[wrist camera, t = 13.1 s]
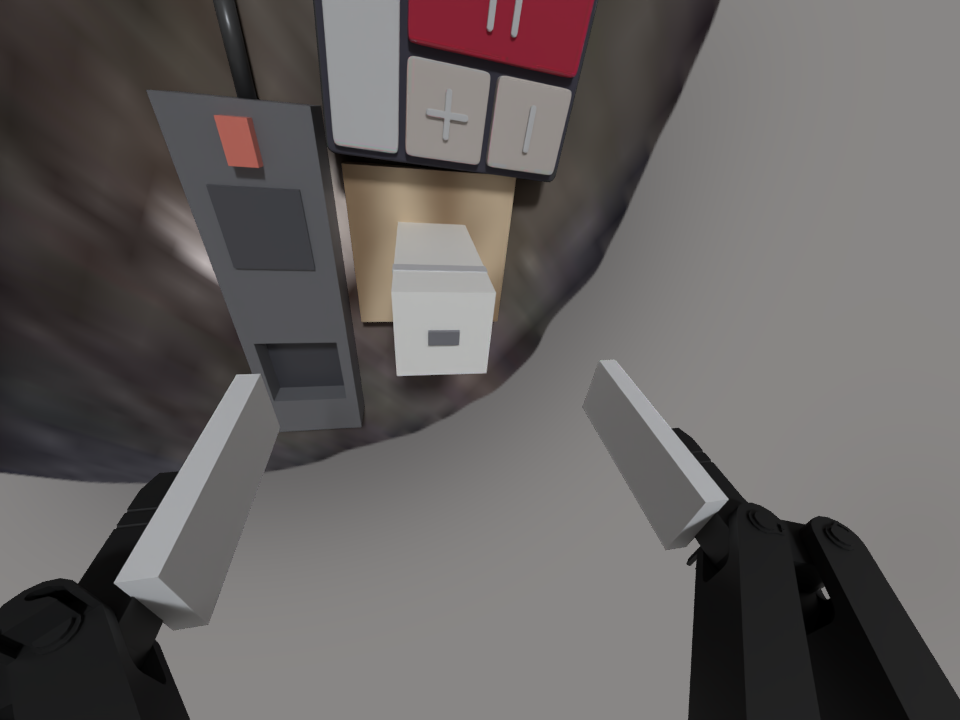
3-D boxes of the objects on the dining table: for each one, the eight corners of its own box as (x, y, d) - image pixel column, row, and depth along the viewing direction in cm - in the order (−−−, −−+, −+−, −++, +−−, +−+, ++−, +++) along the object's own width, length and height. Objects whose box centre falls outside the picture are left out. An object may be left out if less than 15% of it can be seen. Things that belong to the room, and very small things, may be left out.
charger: (400, 285, 29) (395, 379, 19) (397, 221, 26) (389, 292, 16) (461, 286, 30) (487, 375, 20) (465, 224, 27) (497, 293, 17)
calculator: (558, 185, 24) (324, 154, 20) (537, 174, 27) (333, 145, 24) (617, -49, 18) (294, -160, 14) (581, -26, 21) (312, -110, 17)
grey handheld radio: (364, 406, 37) (360, 433, 34) (283, 410, 36) (271, 438, 33) (302, -20, 19) (282, -44, 16) (130, -48, 17) (71, -79, 14)
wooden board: (363, 315, 31) (361, 321, 30) (344, 161, 24) (341, 163, 23) (494, 314, 33) (497, 321, 32) (512, 173, 26) (516, 176, 25)
